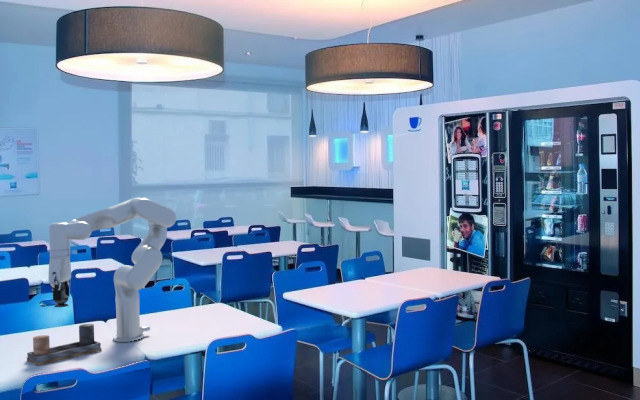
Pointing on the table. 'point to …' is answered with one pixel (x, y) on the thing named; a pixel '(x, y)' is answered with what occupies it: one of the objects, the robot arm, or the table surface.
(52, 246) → the robot arm
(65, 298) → the salt shaker
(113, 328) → the table surface
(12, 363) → the table surface
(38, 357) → the condiment rail
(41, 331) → the table surface
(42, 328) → the table surface
